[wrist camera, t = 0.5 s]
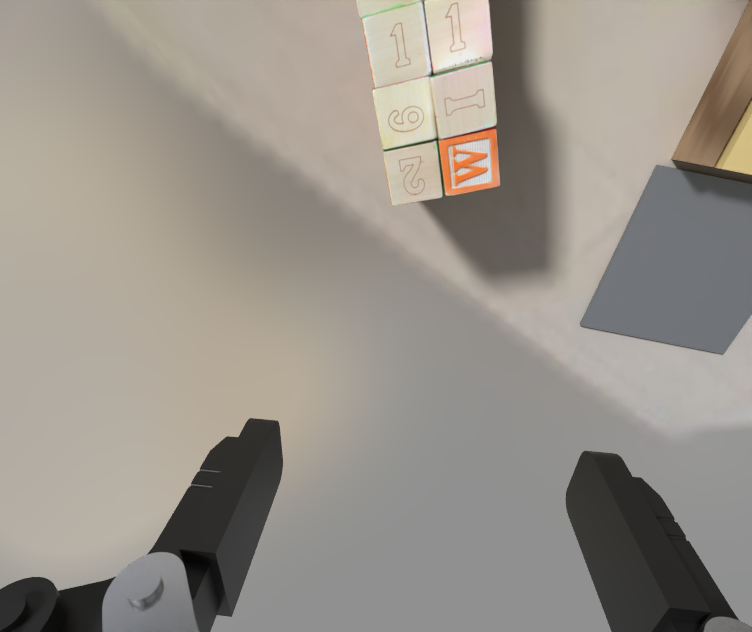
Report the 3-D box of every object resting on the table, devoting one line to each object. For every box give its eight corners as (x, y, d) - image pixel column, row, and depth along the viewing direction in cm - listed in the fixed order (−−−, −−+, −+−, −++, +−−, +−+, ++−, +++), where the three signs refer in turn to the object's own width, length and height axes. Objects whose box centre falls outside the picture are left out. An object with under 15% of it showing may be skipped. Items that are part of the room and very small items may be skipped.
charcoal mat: (656, 164, 32) (659, 165, 31) (827, 199, 32) (831, 200, 31) (579, 324, 38) (581, 326, 38) (720, 352, 39) (723, 354, 38)
